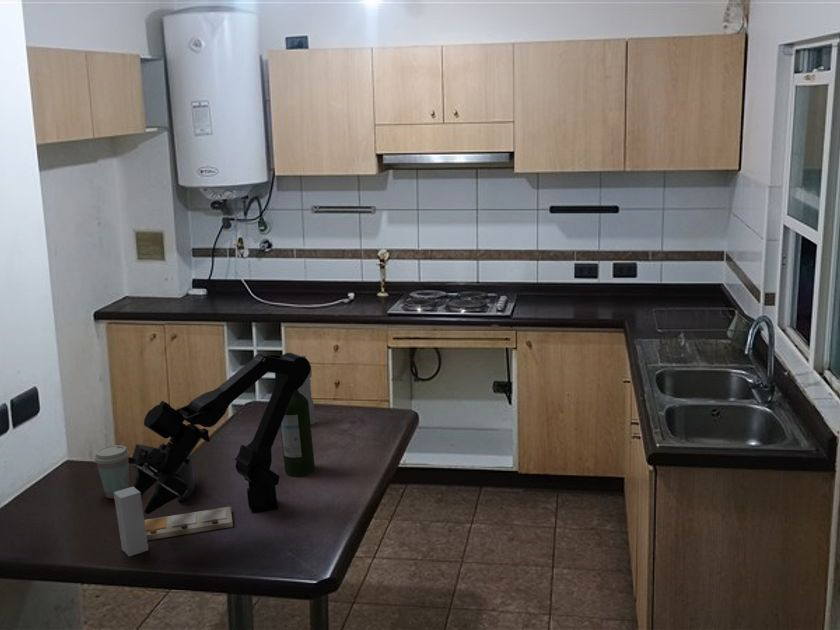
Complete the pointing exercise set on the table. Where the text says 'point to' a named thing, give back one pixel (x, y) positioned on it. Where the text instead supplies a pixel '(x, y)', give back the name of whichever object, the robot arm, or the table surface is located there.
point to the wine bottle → (297, 437)
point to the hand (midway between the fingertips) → (138, 507)
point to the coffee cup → (113, 468)
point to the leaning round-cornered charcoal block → (187, 478)
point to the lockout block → (131, 521)
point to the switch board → (188, 523)
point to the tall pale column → (308, 395)
